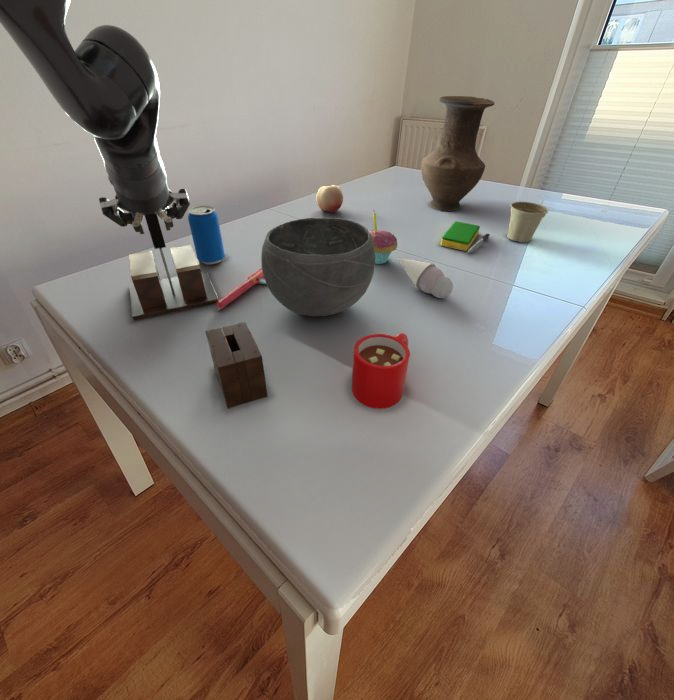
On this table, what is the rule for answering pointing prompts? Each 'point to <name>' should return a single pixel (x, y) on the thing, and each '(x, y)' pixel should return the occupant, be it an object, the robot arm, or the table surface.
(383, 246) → the cupcake
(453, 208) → the vase
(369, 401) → the mug
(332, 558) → the table surface
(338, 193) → the fruit
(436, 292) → the ice cream cone
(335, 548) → the table surface
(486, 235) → the knife
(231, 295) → the pink plastic rod
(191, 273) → the slotted block
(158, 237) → the black block with pin
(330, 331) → the table surface
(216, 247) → the beverage can
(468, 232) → the dish sponge
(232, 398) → the knife block
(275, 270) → the bowl
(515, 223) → the flower pot
